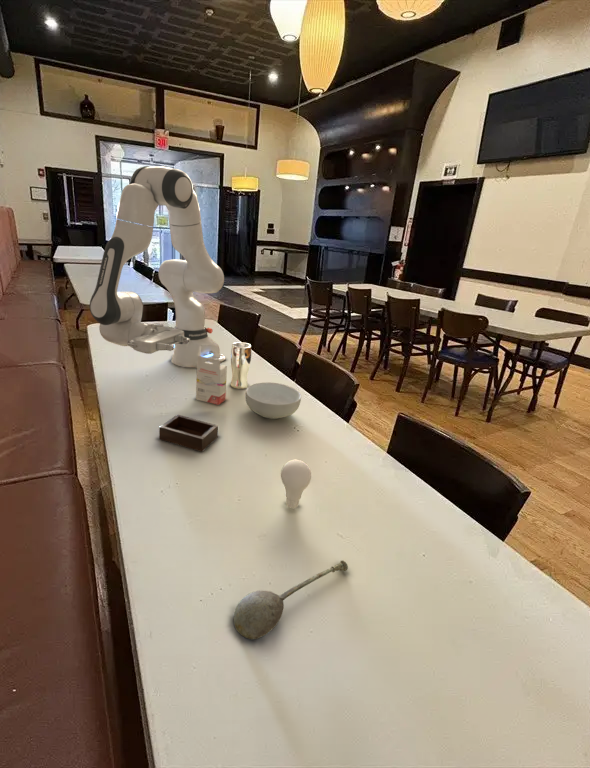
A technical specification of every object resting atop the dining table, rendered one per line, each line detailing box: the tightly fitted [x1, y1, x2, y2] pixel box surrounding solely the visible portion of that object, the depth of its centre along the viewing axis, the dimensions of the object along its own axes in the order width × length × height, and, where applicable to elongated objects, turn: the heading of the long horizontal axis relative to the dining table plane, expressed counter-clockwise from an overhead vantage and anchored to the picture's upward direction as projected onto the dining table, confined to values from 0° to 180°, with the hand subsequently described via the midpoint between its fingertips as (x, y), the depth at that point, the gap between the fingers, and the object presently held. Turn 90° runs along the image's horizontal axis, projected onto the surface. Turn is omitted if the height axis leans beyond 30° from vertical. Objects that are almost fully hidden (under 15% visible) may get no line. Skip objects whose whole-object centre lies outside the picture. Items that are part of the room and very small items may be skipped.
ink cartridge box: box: [195, 356, 228, 406], centre depth 130 cm, size 9×5×15 cm, turn 67°
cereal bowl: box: [245, 381, 302, 420], centre depth 126 cm, size 17×17×7 cm
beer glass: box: [230, 341, 252, 390], centre depth 143 cm, size 7×7×15 cm
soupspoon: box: [233, 560, 349, 640], centre depth 65 cm, size 22×3×7 cm
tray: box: [158, 414, 219, 453], centre depth 108 cm, size 9×13×4 cm
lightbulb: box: [280, 459, 312, 510], centre depth 84 cm, size 6×6×11 cm
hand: (181, 344), depth 130 cm, fingers open, 8 cm apart
